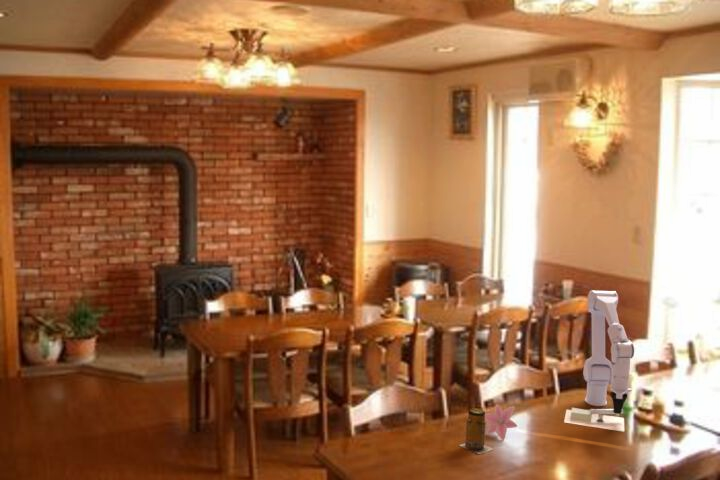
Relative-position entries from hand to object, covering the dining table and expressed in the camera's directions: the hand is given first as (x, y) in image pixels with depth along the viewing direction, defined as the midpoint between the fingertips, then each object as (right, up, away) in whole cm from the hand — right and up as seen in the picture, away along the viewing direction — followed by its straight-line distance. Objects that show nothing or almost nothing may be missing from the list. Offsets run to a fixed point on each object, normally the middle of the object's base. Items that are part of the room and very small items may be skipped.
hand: (617, 413), depth 259 cm
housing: (-8, -4, +2) cm, 9 cm away
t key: (-4, -3, +1) cm, 5 cm away
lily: (-44, -4, -13) cm, 46 cm away
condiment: (-54, -6, -25) cm, 59 cm away
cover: (-12, -3, +3) cm, 13 cm away
